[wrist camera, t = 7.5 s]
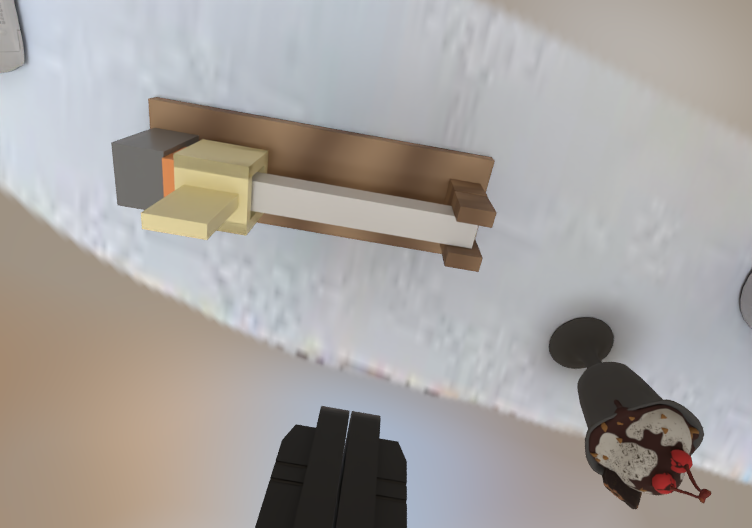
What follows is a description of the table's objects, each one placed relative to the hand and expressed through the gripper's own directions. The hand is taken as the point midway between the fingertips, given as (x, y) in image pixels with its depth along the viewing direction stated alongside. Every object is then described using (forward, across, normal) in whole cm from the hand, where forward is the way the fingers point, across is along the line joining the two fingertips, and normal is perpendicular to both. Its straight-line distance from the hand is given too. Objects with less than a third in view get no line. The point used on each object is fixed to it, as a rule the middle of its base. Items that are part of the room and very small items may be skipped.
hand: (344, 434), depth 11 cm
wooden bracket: (+21, +4, 0) cm, 22 cm away
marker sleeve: (+19, +9, 0) cm, 21 cm away
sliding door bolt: (+20, +5, 0) cm, 21 cm away
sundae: (+22, -18, +10) cm, 30 cm away
